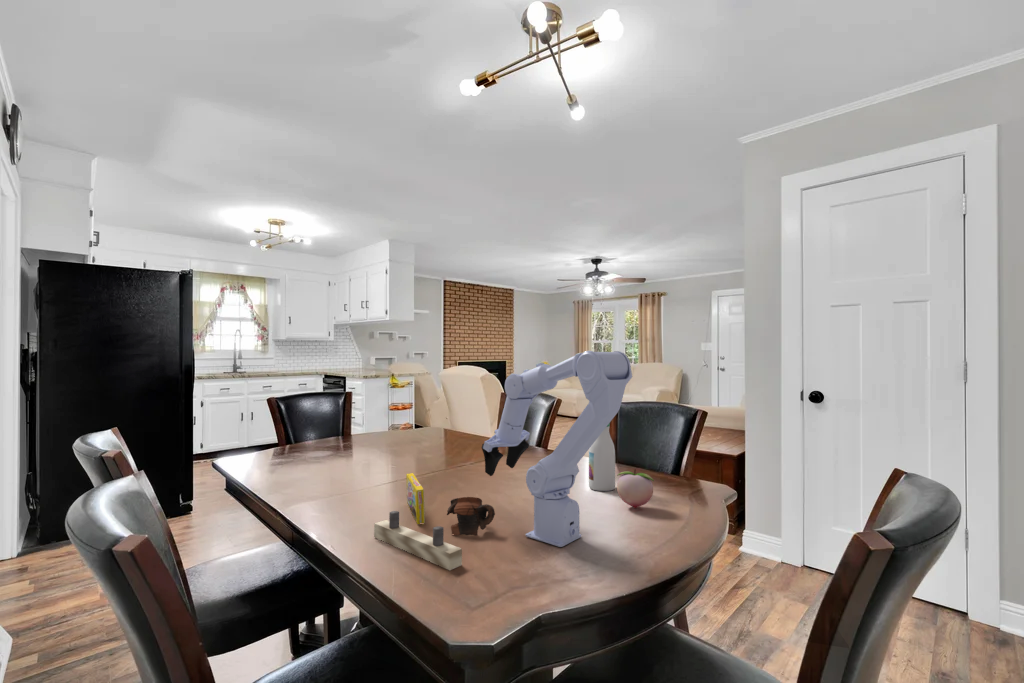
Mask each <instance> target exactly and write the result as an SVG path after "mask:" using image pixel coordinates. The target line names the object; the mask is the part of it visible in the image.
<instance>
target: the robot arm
mask: <svg viewBox="0 0 1024 683" xmlns="http://www.w3.org/2000/svg"><path fill="white" fill-rule="evenodd" d="M535 366H536V367H534V368H532V369H528V368H527V369H523V372H522V373H510V375H508V376H507V377H506V379H505V381H504V392H505V394H506V398H505V402H504V406H503V407H504V408H503V410H502V414H501V417H500V422H499V425H498V428H497V429H495V430H494V434H493V435H492V436H491V437H490V438H489V439H487V440H484V441H483V442H484V443H482V445H481V451H482V453H483V456H484V457H483V458H484V473H485V474H487V475H488V476H490V477H492V476H494V474H495V471H496V469H497V466H498V464H499V462H500V461H501V460H502V458H503V457H504V454H503V453H501V452H500V450H499V448H504V447H505V448H506V447H508V449H507V455H506V460H505V461H506V462H505V464H506V465H507V466H508V467H509V468H511V469H513V468H515V466H516V464H517V462H518V461H519V459H520V458H521V456H522V455H523V454H524V452H526V450H528V449H529V446H530V444H529V443H528V442H527V441H529V439H530V435H531V433H530V432H529V431H527V430H525V429H524V426H525V422H526V419H527V415H528V412H529V408H530V406H531V405H532V404H533V402H534V399H535V398H537V396H538V395H539V394H541V393H544V392H547V391H550V390H552V389H554V388H555V387H557V385H558V382H559V381H562V380H566V379H569V378H572V377H578V380H579V382H580V386H581V388H582V392H583V394H584V396H585V399H587V401H588V404H587V405H586V406H585V407H584V409H583V410H582V411H581V413H580V415H579V416H578V417H577V419H576V420H575V421H574V423H573V424H572V426H571V427H570V428H569V430H567V432H566V433H565V435H564V436H563V438H562V439H561V440H560V441H559V443H558V444H557V446H556V447H555V449H554V450H553V452H552V453H550V454H549V455H546V456H545V457H543V458H542V459H541V458H540V460H539V461H538V462H537V463H536V464H535V465H532V466H530V467H529V468H528V470H527V471H526V476H525V483H526V486H527V488H528V490H529V492H530V493H531V496H533V511H534V512H533V530H531V531H529V532H526V533H525V537H526V538H531V539H534V540H536V541H539V542H543V543H546V544H549V545H552V546H555V547H559V548H563V547H564V546H566V545H568V544H570V543H572V542H574V541H576V540H578V539H580V538H582V534H581V533H580V506H579V503H578V501H577V500H575V499H573V498H571V497H570V496H569V494H570V493H571V489H572V488H573V486H574V484H575V481H576V478H577V475H578V474H579V472H580V469H579V466H578V464H579V462H580V461H581V460H582V459H583V457H584V456H585V454H586V453H587V452H589V448H590V447H591V446H592V444H593V443H594V442H595V441H596V439H597V438H598V437H599V436H600V434H601V433H602V432H603V430H604V429H605V428H606V427H607V425H608V424H609V423H610V424H611V422H612V420H614V418H615V416H616V415H617V414H618V413H619V411H620V408H621V405H622V403H623V397H624V394H625V390H626V386H627V384H628V383H629V382H630V381H631V379H632V378H633V373H632V367H631V366H632V365H631V361H630V359H629V357H628V356H627V355H626V354H625V353H624V352H622V351H620V350H619V351H618V350H617V351H616V350H615V351H593V350H586V351H583V352H579V353H576V354H575V355H573V356H571V357H569V358H567V359H565V360H563V361H560V362H558V363H557V364H555V365H551V364H547V363H544V362H539V363H537V364H535Z"/></svg>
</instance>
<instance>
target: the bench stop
mask: <svg viewBox="0 0 1024 683" xmlns="http://www.w3.org/2000/svg"><path fill="white" fill-rule="evenodd" d="M388 515H389V520H388V519H385V520H381V521H378V522H375V523H374V528H373V532H374V534H373V538H374V537H375V539H376V538H377V540H379V541H381V540H382V542H383V541H384V542H383V543H386V542H387V543H386V544H388V543H389V544H388V545H390V546H392V545H393V547H395V548H397V547H398V548H397V549H399V548H400V549H399V550H402V549H403V550H402V551H404V550H405V551H404V552H406V551H407V553H409V554H411V553H412V554H411V555H413V554H414V556H415V555H416V557H418V558H420V557H421V558H420V559H422V558H423V559H422V560H424V561H427V562H429V561H430V562H429V563H432V564H434V565H436V566H438V565H439V567H441V568H442V569H446V570H447V571H452V570H455V569H456V568H458V567H461V566H462V564H463V548H461V547H459V546H456V545H453V544H451V543H448V542H446V541H444V531H445V530H444V527H443V526H440V525H439V526H434V527H432V536H431V535H430V536H429V535H427V534H426V533H425V534H424V533H422V532H419V531H416V530H414V529H411V528H408V527H406V526H403V525H401V524H400V511H399V510H392V511H389V513H388Z"/></svg>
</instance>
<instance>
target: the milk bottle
mask: <svg viewBox="0 0 1024 683" xmlns="http://www.w3.org/2000/svg"><path fill="white" fill-rule="evenodd" d="M610 424H611V422H610V423H609V424H608V425H607V427H606V428H605V429H604V430H603V432H602V433H601V434H600V436H599V437H598V438H597V439H596V441H595V442H594V443H593V444H592V446H591V447H590V448H589V450H588V487H589V489H591V490H593V491H598V492H611V491H614V490H615V489H616V450H615V444H614V442H613V439H612V437H611V434H610V426H611V425H610Z"/></svg>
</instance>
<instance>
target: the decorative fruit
mask: <svg viewBox="0 0 1024 683" xmlns="http://www.w3.org/2000/svg"><path fill="white" fill-rule="evenodd" d="M633 470H634V472H632V471H629V470H627V471H620V472H619V473H618V474H617V475H616V476H619V478H618V480H617V482H616V483H617V485H616V490H617V494H618V496H619V497H620V499H621V500H622V502H624V503H625V504H626V505H628V506H631V507H632V508H634V509H636V508H639V507H642V506H644V505H646V504H647V503H649V502H650V500H651V499H652V497H653V494H654V485H653V482H655V481H654V478H652V477H651V476H650V475H649V474H647V473H643V472H638V473H637V472H636V471H637V470H636V468H634V469H633ZM652 481H653V482H652Z"/></svg>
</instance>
